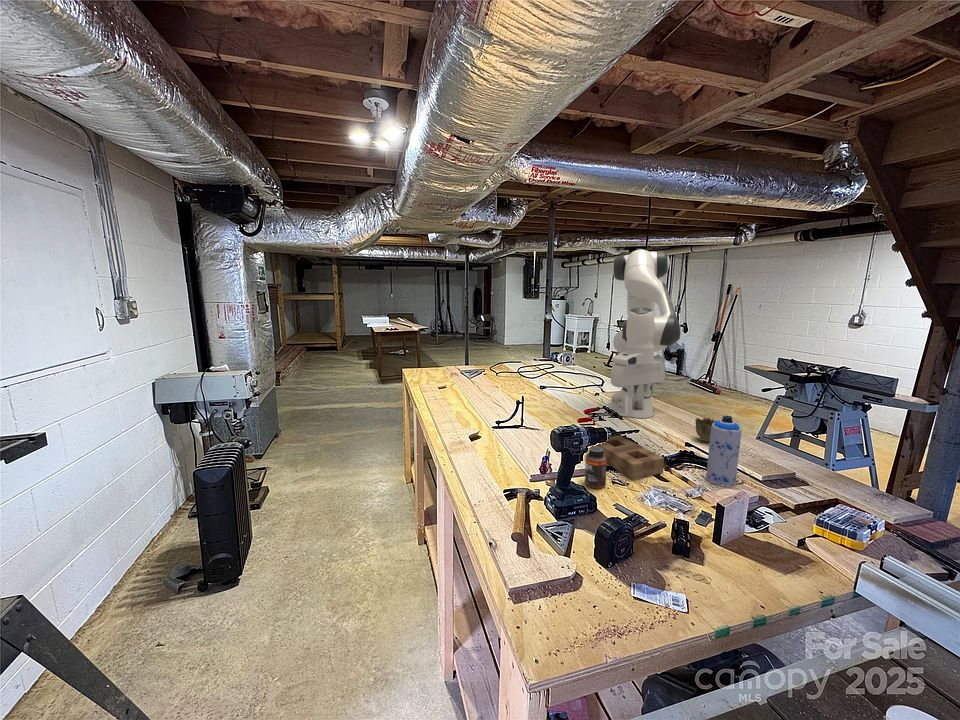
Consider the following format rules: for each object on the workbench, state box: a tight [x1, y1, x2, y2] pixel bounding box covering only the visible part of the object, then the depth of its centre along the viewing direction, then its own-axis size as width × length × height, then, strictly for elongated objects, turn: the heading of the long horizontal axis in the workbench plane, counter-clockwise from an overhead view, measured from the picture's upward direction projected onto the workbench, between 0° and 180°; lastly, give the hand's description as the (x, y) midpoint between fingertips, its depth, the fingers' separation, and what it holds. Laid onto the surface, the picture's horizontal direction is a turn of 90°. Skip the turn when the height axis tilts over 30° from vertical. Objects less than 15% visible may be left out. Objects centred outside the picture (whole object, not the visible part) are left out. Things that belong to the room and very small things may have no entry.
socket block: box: [596, 435, 665, 481], centre depth 125 cm, size 20×12×5 cm, turn 21°
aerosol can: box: [705, 415, 743, 487], centre depth 112 cm, size 8×8×20 cm
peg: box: [632, 384, 644, 411], centre depth 129 cm, size 4×4×9 cm
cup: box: [695, 417, 717, 443], centre depth 142 cm, size 8×7×8 cm
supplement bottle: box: [584, 445, 607, 490], centre depth 111 cm, size 6×6×11 cm
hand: (637, 397), depth 129 cm, fingers closed on peg, 4 cm apart
